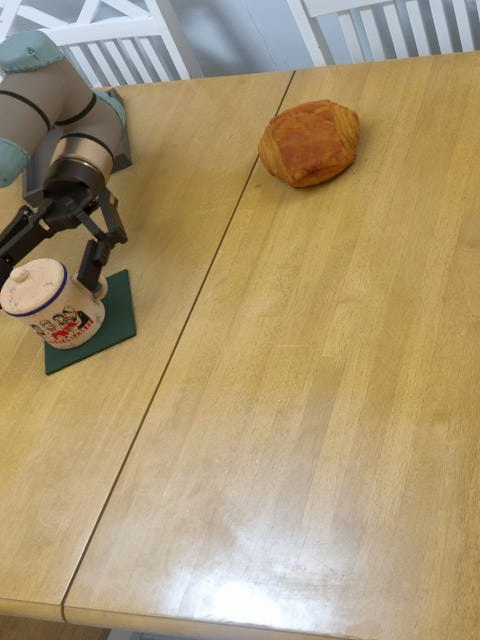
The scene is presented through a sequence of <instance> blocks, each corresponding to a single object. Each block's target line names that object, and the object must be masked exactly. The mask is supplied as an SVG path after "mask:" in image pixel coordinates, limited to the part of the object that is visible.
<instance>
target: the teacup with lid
mask: <svg viewBox="0 0 480 640" xmlns="http://www.w3.org/2000/svg"><path fill="white" fill-rule="evenodd" d="M77 275H78V272H77V273H75V274H72V273H71V272H69V271H68V270H67V266H65V264H63V263H62V262H61V261H59V260H56V259H54V258H48V257H47V258H46V257H45V258H37V259H34V260H31V261H29V262H27V263H25V264H23V265H21V266H19V267H14V270H13V271H12V272H11V274H10V277H9V278H8V279H7V281H6V282H5V284H4V286H3V287H2V290H1V293H0V303H1V306H2V310H3V312H5V313H6V314H7V315H8V316H11V317H14V318H16V319H17V320H18V321H19V322H20V323H22V324H23V325H24V326H26V327H27V328H28V329H30V331H32V332H34V333H35V334H36V335H38V336H39V337H40V338H41V339H43V341H44V340H45V341H47V342H48V343H49V344H51V345H52V346H53V347H55V348H59V349H69V348H74V347H76V346H79V345H81V344H83V343H84V342H86V341H87V340H89V339H90V338H91V337H92V336H93V335H94V334H95V333H96V332H97V331H98V330H99V328H100V327H101V325H102V323H103V320H104V317H105V308H104V305H103V304H102V302H101V301H100V300H101V299H102V298H103V297H104V296H105V295H106V294H107V291H108V285H107V281H106V279H105V278H106V277H105V276H104V275H103V274H102V273H101V274H100V277H99V282H100V283H101V285H102V287H101V289H100V290H99V291H98V292H97V293H95V294H92V293H91V292H90V291H89V290H88V289H87V288H86V287H84V286H83V285H82V284H81V283H80V282H79V281H78V280H77V279H76V278H77Z"/></svg>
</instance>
